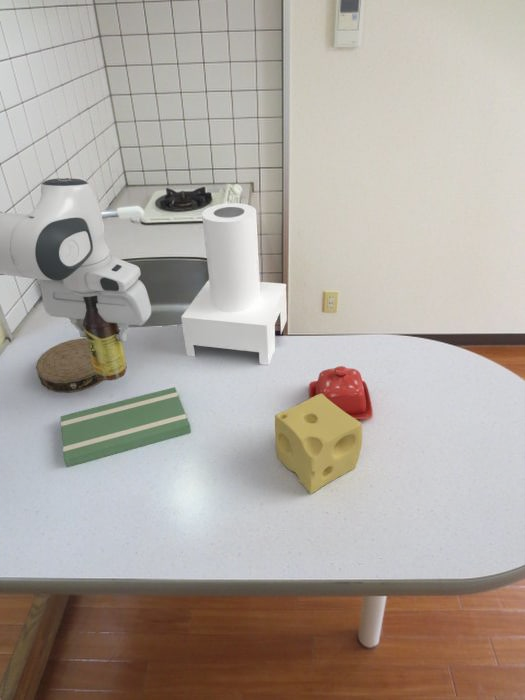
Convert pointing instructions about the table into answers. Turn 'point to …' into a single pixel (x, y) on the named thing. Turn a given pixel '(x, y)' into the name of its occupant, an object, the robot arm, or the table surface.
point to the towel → (122, 426)
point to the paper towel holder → (234, 288)
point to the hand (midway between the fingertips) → (104, 337)
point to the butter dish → (344, 391)
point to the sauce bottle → (103, 343)
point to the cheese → (317, 441)
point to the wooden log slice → (67, 367)
